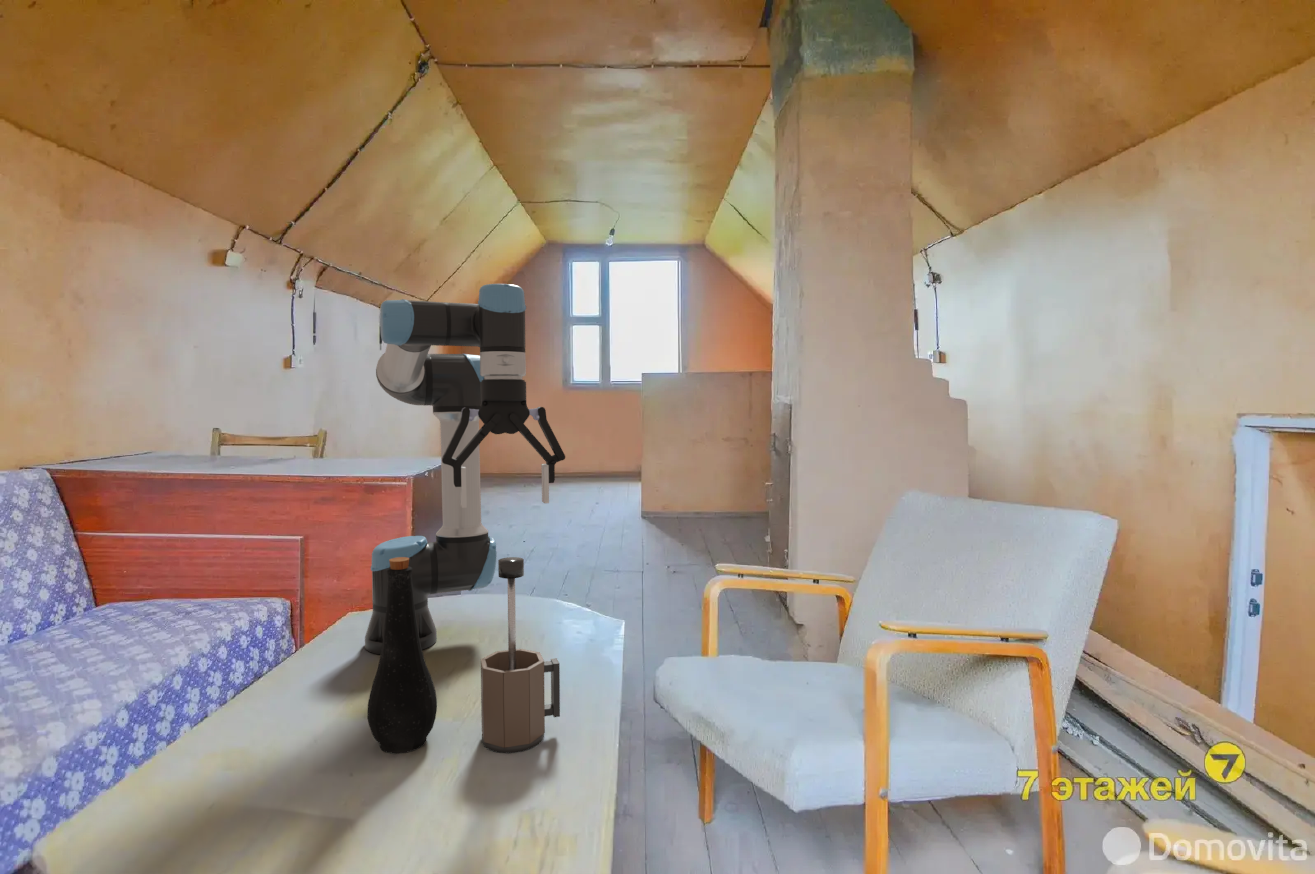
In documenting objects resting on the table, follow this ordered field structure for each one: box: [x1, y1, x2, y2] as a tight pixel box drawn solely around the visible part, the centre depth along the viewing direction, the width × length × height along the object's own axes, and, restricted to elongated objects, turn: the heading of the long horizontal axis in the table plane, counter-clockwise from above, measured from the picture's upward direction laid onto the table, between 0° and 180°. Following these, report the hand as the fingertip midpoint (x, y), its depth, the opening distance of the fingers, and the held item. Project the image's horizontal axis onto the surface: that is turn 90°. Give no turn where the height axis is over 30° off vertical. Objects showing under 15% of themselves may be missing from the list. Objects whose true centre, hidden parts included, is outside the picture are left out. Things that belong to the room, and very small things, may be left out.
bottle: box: [367, 557, 438, 755], centre depth 116 cm, size 11×11×30 cm
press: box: [480, 648, 561, 754], centre depth 118 cm, size 10×12×13 cm
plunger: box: [497, 556, 525, 670], centre depth 117 cm, size 7×7×21 cm
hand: (505, 504), depth 122 cm, fingers open, 13 cm apart
